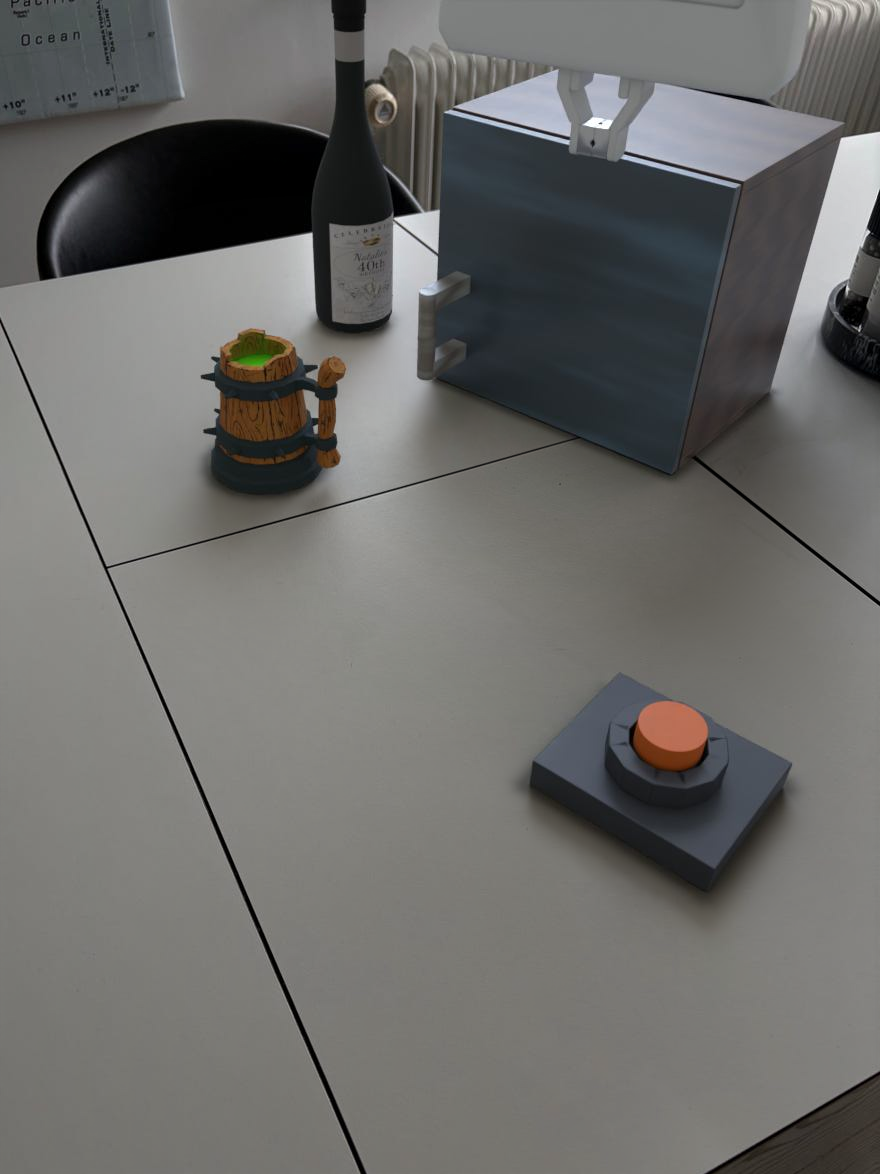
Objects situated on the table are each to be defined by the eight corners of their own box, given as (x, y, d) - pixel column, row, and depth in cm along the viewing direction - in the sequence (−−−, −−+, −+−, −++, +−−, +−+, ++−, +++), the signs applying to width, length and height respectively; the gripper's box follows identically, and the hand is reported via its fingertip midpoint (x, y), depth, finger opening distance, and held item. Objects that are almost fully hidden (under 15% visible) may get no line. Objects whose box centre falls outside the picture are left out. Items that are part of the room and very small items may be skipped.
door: (636, 504, 85) (695, 211, 69) (394, 399, 97) (397, 128, 81) (677, 470, 89) (742, 184, 73) (439, 372, 101) (450, 109, 85)
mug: (183, 475, 88) (164, 348, 80) (252, 420, 94) (240, 299, 87) (315, 520, 83) (308, 390, 75) (377, 459, 90) (376, 334, 82)
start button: (714, 743, 61) (720, 722, 60) (681, 783, 59) (687, 763, 58) (654, 711, 63) (659, 690, 62) (620, 748, 61) (624, 728, 60)
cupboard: (678, 470, 89) (744, 181, 73) (440, 373, 101) (452, 106, 85) (770, 391, 100) (845, 122, 83) (544, 311, 112) (572, 63, 95)
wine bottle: (405, 327, 109) (412, -5, 88) (338, 344, 106) (328, 4, 85) (368, 297, 114) (366, -23, 93) (303, 313, 111) (286, -15, 90)
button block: (783, 786, 64) (801, 742, 61) (706, 892, 58) (722, 849, 55) (614, 695, 69) (623, 651, 67) (528, 784, 64) (535, 740, 61)
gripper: (422, -144, 54) (416, 140, 63) (824, -111, 46) (750, 204, 56) (476, -155, 58) (463, 113, 67) (854, -127, 50) (780, 170, 60)
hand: (596, 155), depth 61 cm, fingers closed
